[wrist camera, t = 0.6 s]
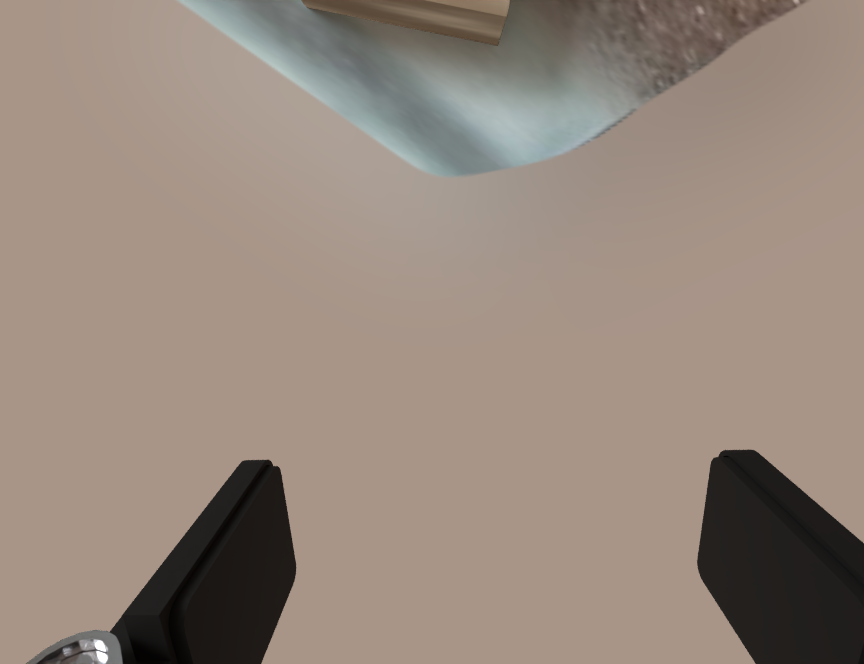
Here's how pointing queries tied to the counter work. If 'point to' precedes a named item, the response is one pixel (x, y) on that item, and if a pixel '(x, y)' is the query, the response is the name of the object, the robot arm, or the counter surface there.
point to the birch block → (429, 15)
